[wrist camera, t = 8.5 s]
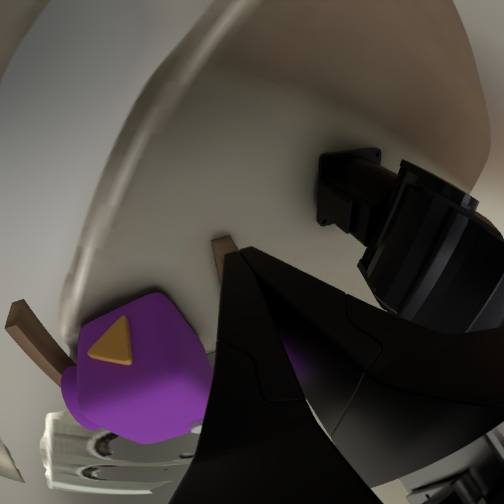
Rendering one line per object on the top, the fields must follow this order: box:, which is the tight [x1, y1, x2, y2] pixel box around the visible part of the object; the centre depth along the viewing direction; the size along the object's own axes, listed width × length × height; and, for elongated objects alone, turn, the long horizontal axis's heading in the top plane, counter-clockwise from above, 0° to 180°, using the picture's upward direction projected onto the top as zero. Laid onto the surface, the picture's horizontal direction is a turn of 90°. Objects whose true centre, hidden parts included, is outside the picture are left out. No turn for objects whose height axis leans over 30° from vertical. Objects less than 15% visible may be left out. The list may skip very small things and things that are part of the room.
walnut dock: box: [5, 236, 239, 387], centre depth 23 cm, size 20×16×4 cm
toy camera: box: [61, 292, 213, 444], centre depth 20 cm, size 11×14×10 cm
